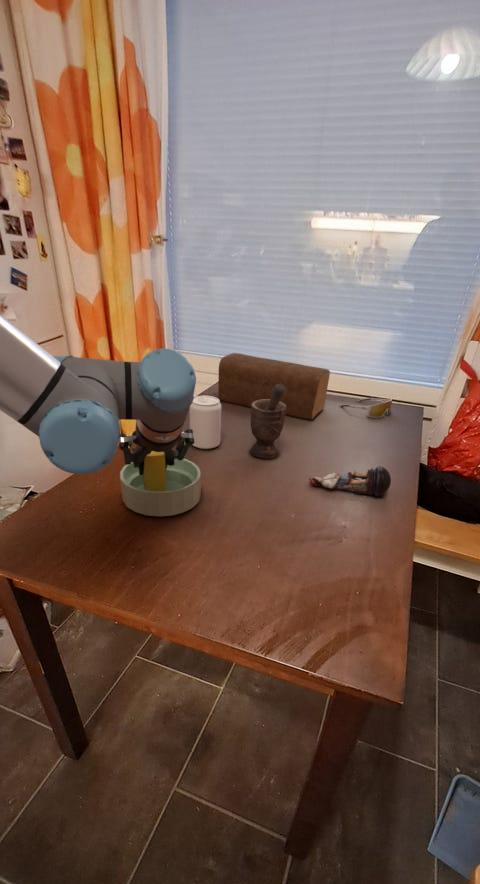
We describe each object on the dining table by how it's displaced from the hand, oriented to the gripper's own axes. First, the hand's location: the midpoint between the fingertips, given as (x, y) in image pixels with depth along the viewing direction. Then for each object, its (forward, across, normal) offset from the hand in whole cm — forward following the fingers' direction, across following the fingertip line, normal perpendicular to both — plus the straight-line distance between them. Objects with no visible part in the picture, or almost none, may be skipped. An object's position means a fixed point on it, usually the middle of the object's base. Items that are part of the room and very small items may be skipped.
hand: (151, 467), depth 90 cm
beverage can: (+18, +17, +11) cm, 27 cm away
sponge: (-1, 0, -5) cm, 5 cm away
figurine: (-3, +43, -10) cm, 45 cm away
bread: (+37, +46, +30) cm, 67 cm away
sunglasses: (+30, +78, +24) cm, 87 cm away
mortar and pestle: (+11, +31, +4) cm, 33 cm away
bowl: (+1, +1, -7) cm, 7 cm away
